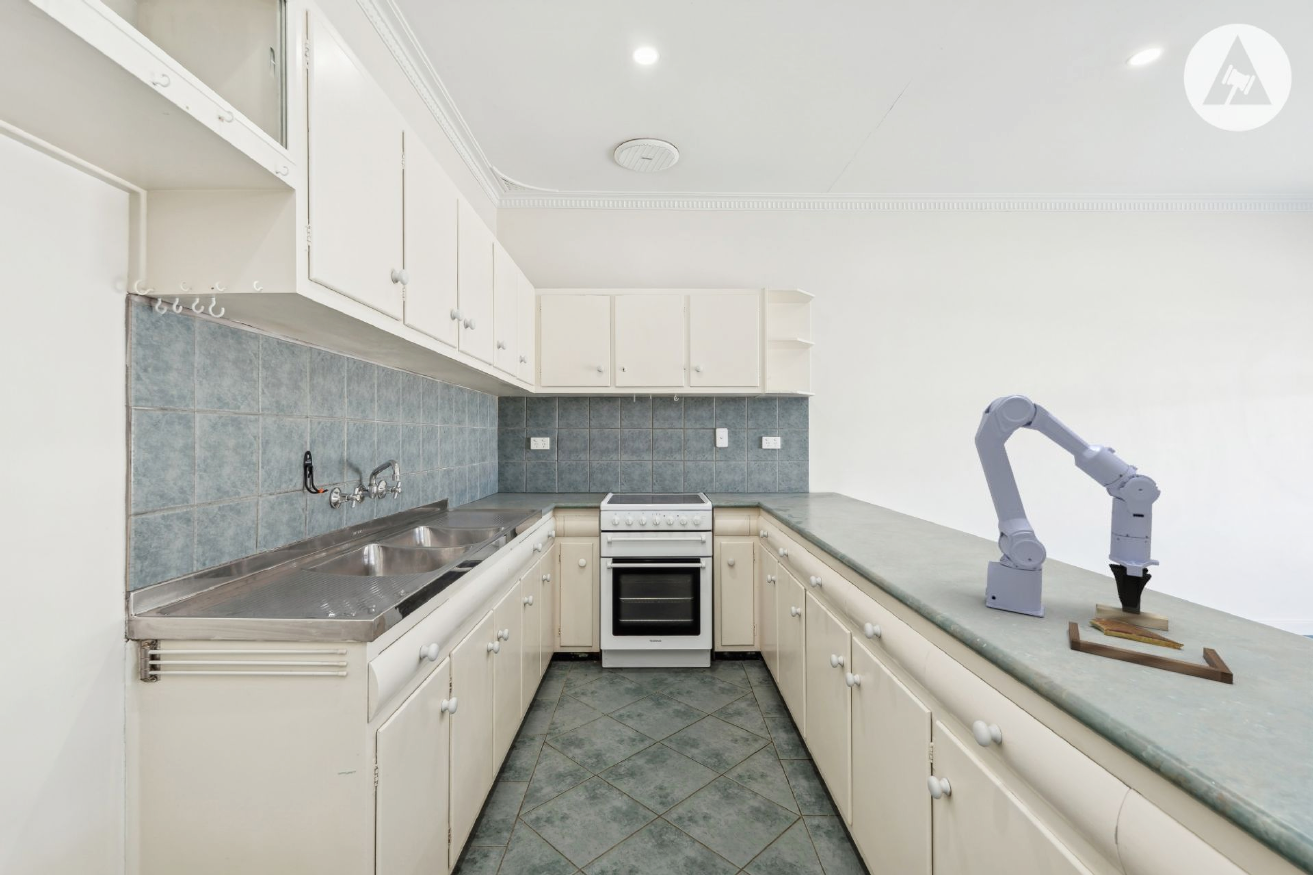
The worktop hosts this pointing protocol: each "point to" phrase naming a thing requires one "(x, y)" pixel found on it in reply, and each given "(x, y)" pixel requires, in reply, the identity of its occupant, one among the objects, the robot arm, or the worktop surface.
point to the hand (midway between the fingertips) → (1128, 604)
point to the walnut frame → (1156, 658)
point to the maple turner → (1132, 616)
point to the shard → (1132, 632)
